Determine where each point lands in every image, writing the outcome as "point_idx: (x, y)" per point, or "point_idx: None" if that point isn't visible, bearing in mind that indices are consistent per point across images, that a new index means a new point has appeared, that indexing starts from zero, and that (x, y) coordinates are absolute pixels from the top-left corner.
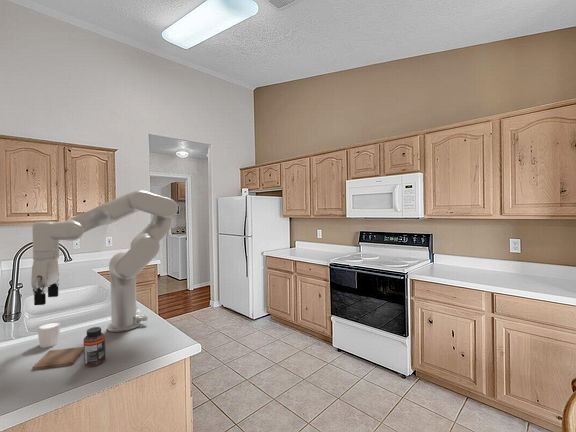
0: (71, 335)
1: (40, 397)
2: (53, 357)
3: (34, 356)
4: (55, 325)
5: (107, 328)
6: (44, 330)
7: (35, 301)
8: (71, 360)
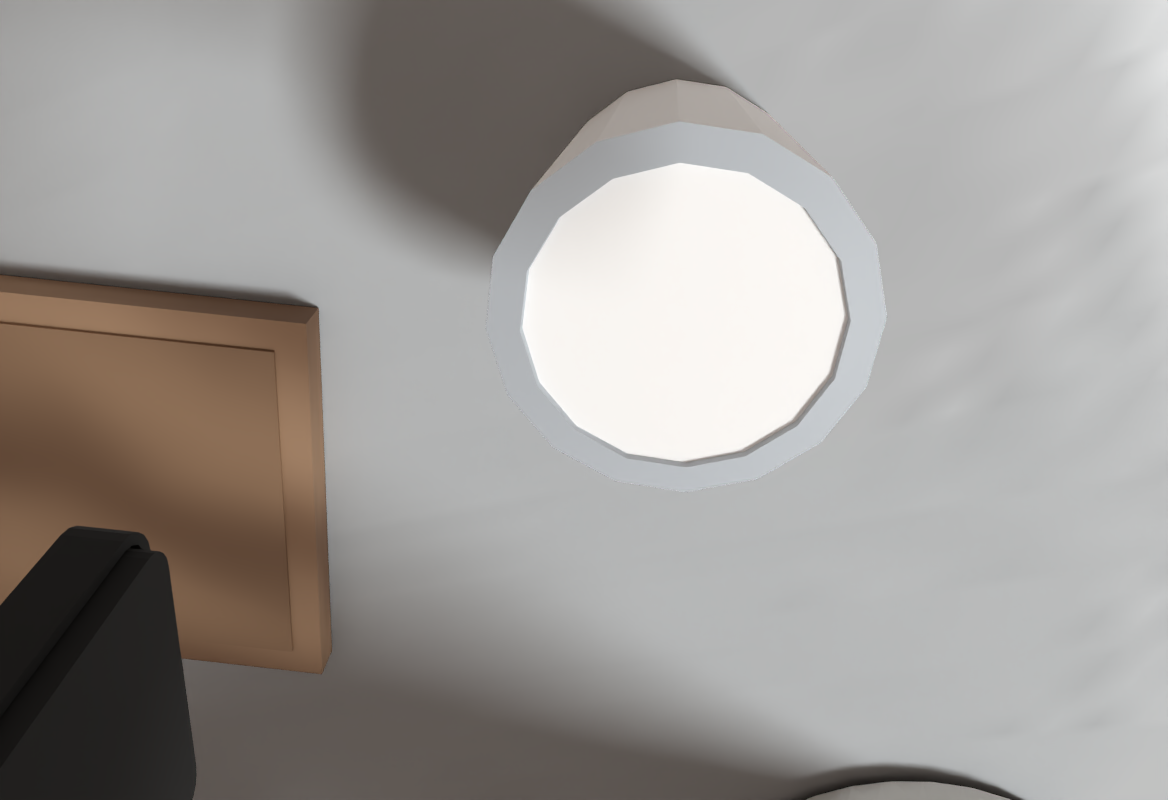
0: (896, 417)
1: None
2: (73, 432)
3: (271, 142)
4: (654, 429)
5: (859, 796)
6: (490, 294)
7: (2, 656)
8: None
